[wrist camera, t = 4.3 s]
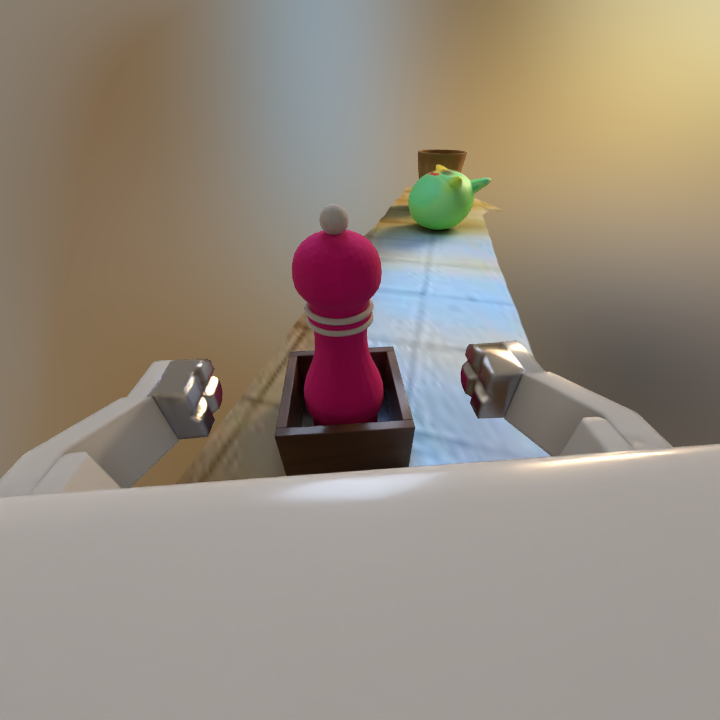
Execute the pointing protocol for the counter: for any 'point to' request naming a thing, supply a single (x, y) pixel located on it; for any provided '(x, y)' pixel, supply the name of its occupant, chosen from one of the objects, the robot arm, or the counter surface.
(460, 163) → the plant pot
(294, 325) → the counter surface
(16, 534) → the robot arm
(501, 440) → the counter surface
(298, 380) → the mill holder
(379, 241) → the counter surface
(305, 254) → the pepper mill
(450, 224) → the toy bird
